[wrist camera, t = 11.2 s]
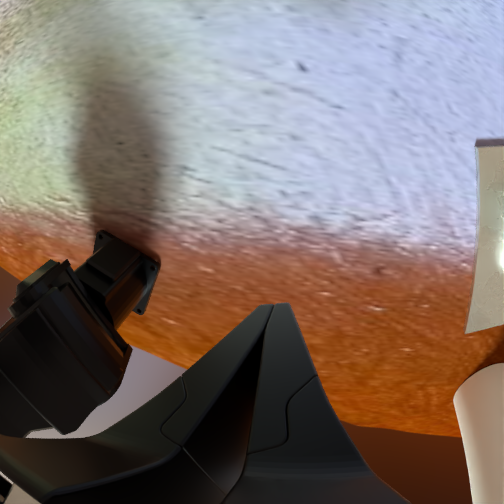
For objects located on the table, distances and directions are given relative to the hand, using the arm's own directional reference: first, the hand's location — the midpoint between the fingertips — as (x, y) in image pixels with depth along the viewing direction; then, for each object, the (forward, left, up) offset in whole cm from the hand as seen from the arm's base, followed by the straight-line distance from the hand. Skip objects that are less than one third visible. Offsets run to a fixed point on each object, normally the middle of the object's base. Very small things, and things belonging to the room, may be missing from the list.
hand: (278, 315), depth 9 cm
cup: (-7, -30, -13) cm, 34 cm away
